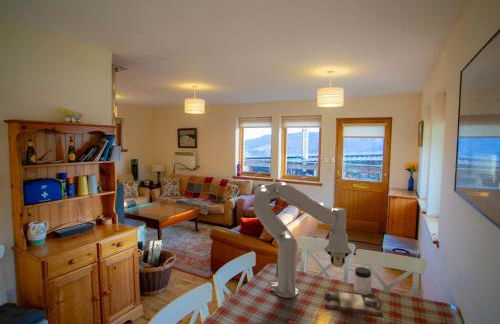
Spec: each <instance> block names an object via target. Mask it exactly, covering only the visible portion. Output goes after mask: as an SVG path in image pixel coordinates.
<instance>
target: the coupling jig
mask: <svg viewBox="0 0 500 324" xmlns="http://www.w3.org/2000/svg"><path fill="white" fill-rule="evenodd" d="M324 308H328V309H333V310H342V311H347V312H353V313H354V312H355V313H362V314H369V315H374V316H383V311H382V309H381V306H380V303H379V299H378V297H375V296H369V295H368V296H367V295H362V294H359V293H357V294H356V293H350V292H341V291H330V290H324Z"/></svg>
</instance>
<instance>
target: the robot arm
mask: <svg viewBox="0 0 500 324" xmlns="http://www.w3.org/2000/svg"><path fill="white" fill-rule="evenodd" d="M253 195H254V199H253V202H252V209H253V212H254V215H255V216H256V217H257V219H258V220H259V222H260V223H261V225H263V227H264V229H265V231H266V232H267V233H268V234H269V235H270V236H271V237H272V238H273V239H274V240H275V241H276V242H277V245H278V256H277V257H278V259H277V261H278V273H277V281H276V282H274V281H270V283H269V286H270V287H271V288H272V289H274V293H275V294H276V295H277V296H279V297H281V298H285V299H291V298H295V297H297V296H299V289H298V288H297V287H296V282H297V280H296V279H297V278H296V277H297V276H296V274H297V253H298V242H297V240H296V238H295V236H294V235H293V234H292V232H291V231H290V230H289V228H288V227H287V225H286V224H285V223H284V221H283V220H282V219H281V218H280V217H279V216H277V215H276V214H275V213H274V211H273V210H272V208H271V207H270V202H271V200H273V199H276V198H280V199H281V200H283V201H284V202H286V203H288V204H290V205H291V206H293V207H295V208H297V209H298V210H300V211H302V212H303V213H305V214H307V215H309V216H310V217H312V218H313V219H316V220H317V221H319V222H321V223H322V224H323V225H328V226H330V225H331V227H328V231H329V232H330V233H329V236H328V244H327V245H326V246H325V247H324V248H323V249H324V251H325V252H326V253H327V255H329V256H330V263H331V265H333V254H334V253H342V254H343V260H342V267H344V265H345V264H346V258H347V257H348V256H349V255H350V254H351V255H352V254H353V251H352V249H351V248H350V246H349V238H348V237H349V236H348V234H347V210H346V209H345V208H343V207H327V206H324V205H322V204H320V203H319V202H317V201H316V200H314V199H313V198H312V197H310V196H309V195H307V194H306V193H304V192H302V191H301V190H299V189H296V188H295V187H294V186H292V185H290V184H288V183H287V182H285V181H277V182H273V183H267V184H264V185H259V186H258V187H256V188H255V190H254V194H253Z"/></svg>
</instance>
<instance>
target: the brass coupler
mask: <svg viewBox="0 0 500 324" xmlns="http://www.w3.org/2000/svg"><path fill="white" fill-rule="evenodd" d="M342 260H343V254H342V253H334V254H333V264H332V266H333V267H336V268H343V266H342Z"/></svg>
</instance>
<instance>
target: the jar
mask: <svg viewBox="0 0 500 324" xmlns="http://www.w3.org/2000/svg"><path fill="white" fill-rule="evenodd" d="M353 276H354V278H353V289H354V291H355V294H356V293H357V294H358V295H362V296H367V295H370V294H371V293H372V271H371V269H369V268H367V267H363V266H358V267H355V269H354V275H353Z"/></svg>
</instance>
